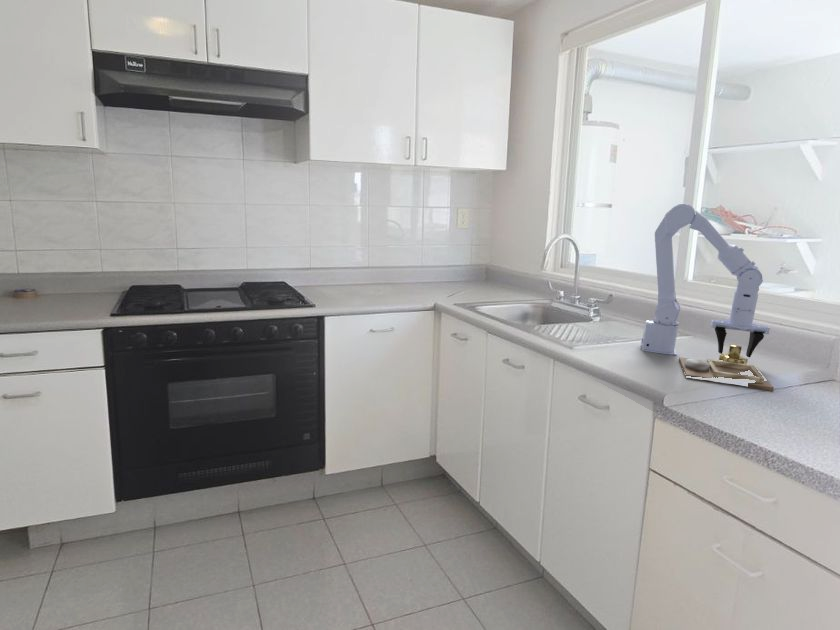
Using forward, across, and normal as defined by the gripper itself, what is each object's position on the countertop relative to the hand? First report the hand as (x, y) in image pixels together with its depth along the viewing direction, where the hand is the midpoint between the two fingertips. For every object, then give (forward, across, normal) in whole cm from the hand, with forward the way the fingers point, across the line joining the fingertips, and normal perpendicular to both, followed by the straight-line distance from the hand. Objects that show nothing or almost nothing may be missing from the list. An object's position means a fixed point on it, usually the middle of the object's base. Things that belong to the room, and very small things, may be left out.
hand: (734, 354), depth 159 cm
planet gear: (+2, 0, 0) cm, 2 cm away
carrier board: (+2, -5, -14) cm, 15 cm away
